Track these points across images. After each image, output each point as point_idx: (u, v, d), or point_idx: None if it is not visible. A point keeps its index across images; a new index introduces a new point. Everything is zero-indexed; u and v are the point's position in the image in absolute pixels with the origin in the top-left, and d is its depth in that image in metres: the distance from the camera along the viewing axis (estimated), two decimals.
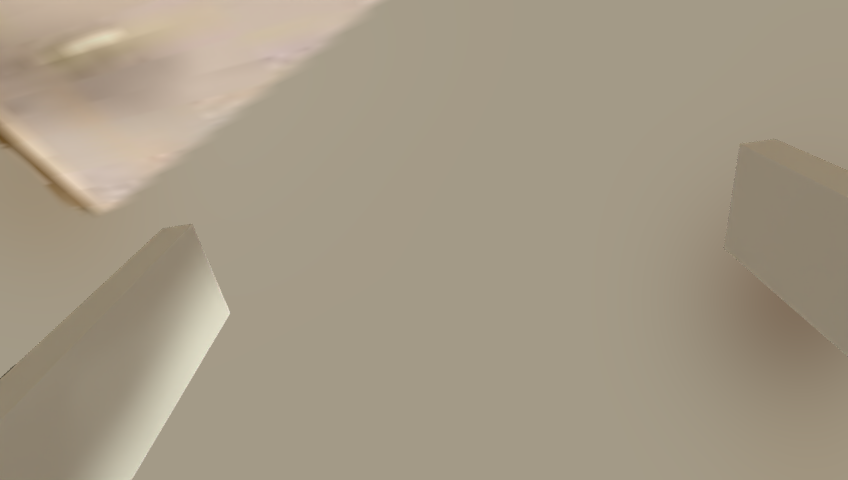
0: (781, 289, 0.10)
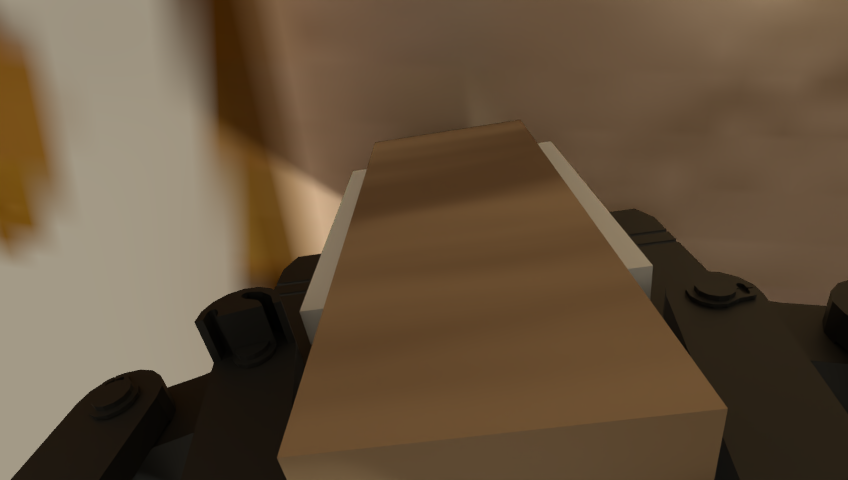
0: None
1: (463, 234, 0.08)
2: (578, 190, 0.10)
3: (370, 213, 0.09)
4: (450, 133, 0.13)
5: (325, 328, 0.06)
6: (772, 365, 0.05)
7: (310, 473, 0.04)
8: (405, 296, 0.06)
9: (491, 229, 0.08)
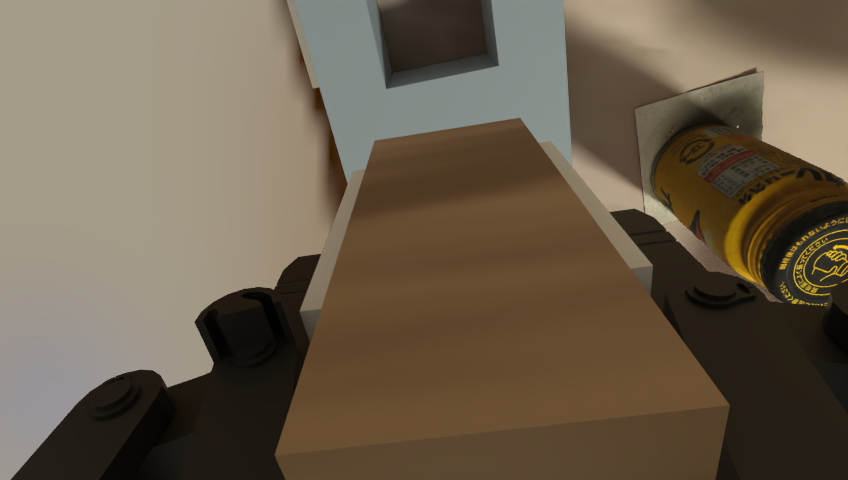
0: None
1: (463, 231, 0.08)
2: (578, 190, 0.10)
3: (369, 211, 0.09)
4: (450, 131, 0.13)
5: (324, 325, 0.06)
6: (771, 364, 0.05)
7: (308, 471, 0.04)
8: (404, 293, 0.06)
9: (491, 227, 0.08)
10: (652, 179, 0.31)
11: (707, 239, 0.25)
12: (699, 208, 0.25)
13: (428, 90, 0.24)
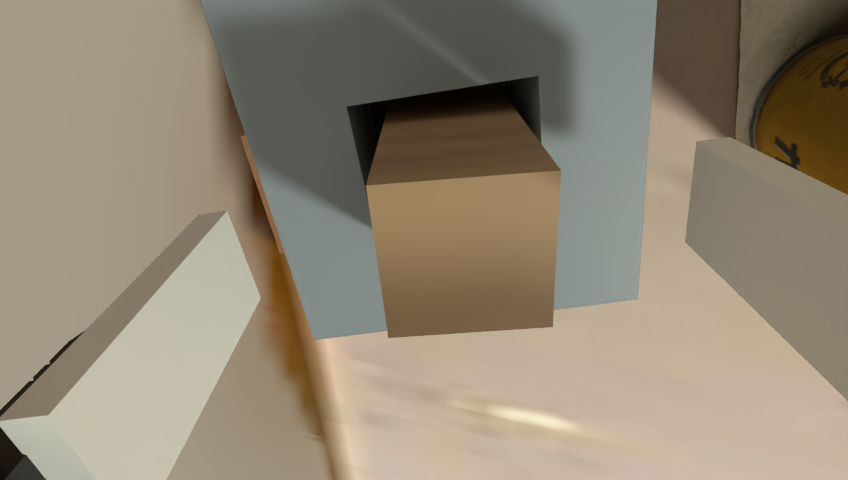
0: (732, 279, 0.11)
1: (452, 128, 0.13)
2: (828, 194, 0.08)
3: (395, 121, 0.14)
4: None
5: (378, 156, 0.11)
6: None
7: (379, 196, 0.10)
8: (420, 147, 0.12)
9: (469, 126, 0.13)
10: (753, 126, 0.19)
11: None
12: None
13: None
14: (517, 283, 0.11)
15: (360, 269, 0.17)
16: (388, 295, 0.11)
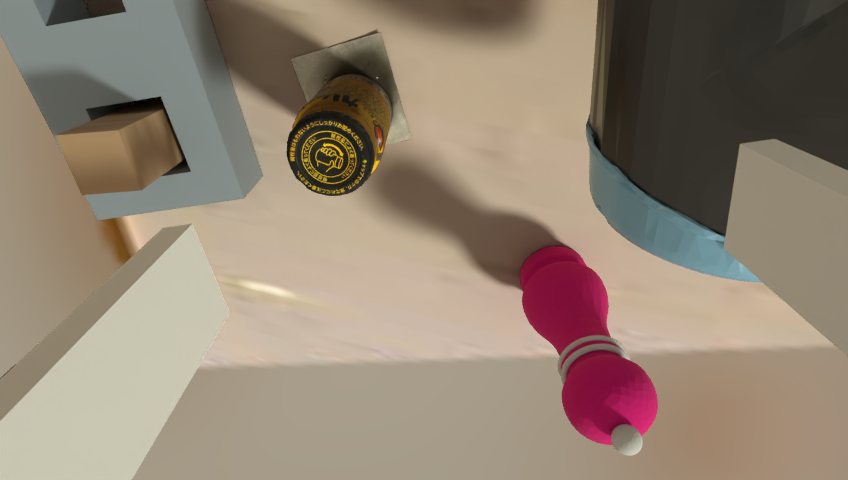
0: (781, 288, 0.10)
1: (121, 117, 0.33)
2: None
3: (109, 114, 0.34)
4: None
5: (76, 127, 0.31)
6: None
7: (60, 139, 0.30)
8: (95, 124, 0.32)
9: (128, 117, 0.33)
10: None
11: None
12: None
13: (78, 28, 0.31)
14: (120, 172, 0.31)
15: None
16: (76, 177, 0.31)
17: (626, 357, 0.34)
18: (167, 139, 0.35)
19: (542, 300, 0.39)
